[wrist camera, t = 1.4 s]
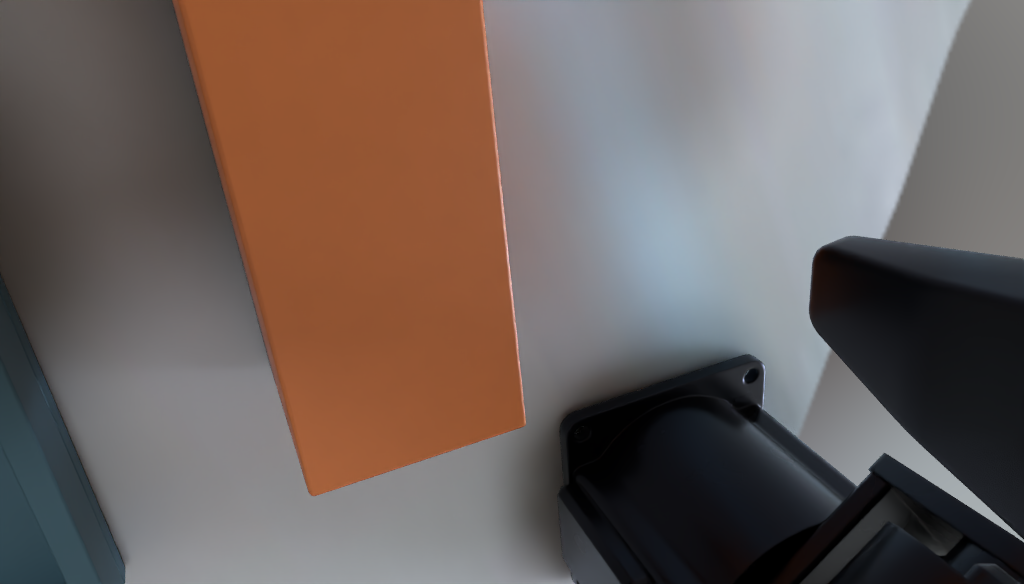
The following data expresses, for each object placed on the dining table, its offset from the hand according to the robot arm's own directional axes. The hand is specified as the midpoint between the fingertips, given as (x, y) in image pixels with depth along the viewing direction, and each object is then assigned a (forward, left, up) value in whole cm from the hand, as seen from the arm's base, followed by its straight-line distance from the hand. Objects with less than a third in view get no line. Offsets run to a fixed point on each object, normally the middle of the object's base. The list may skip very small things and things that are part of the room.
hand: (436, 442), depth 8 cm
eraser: (-1, 0, -11) cm, 11 cm away
